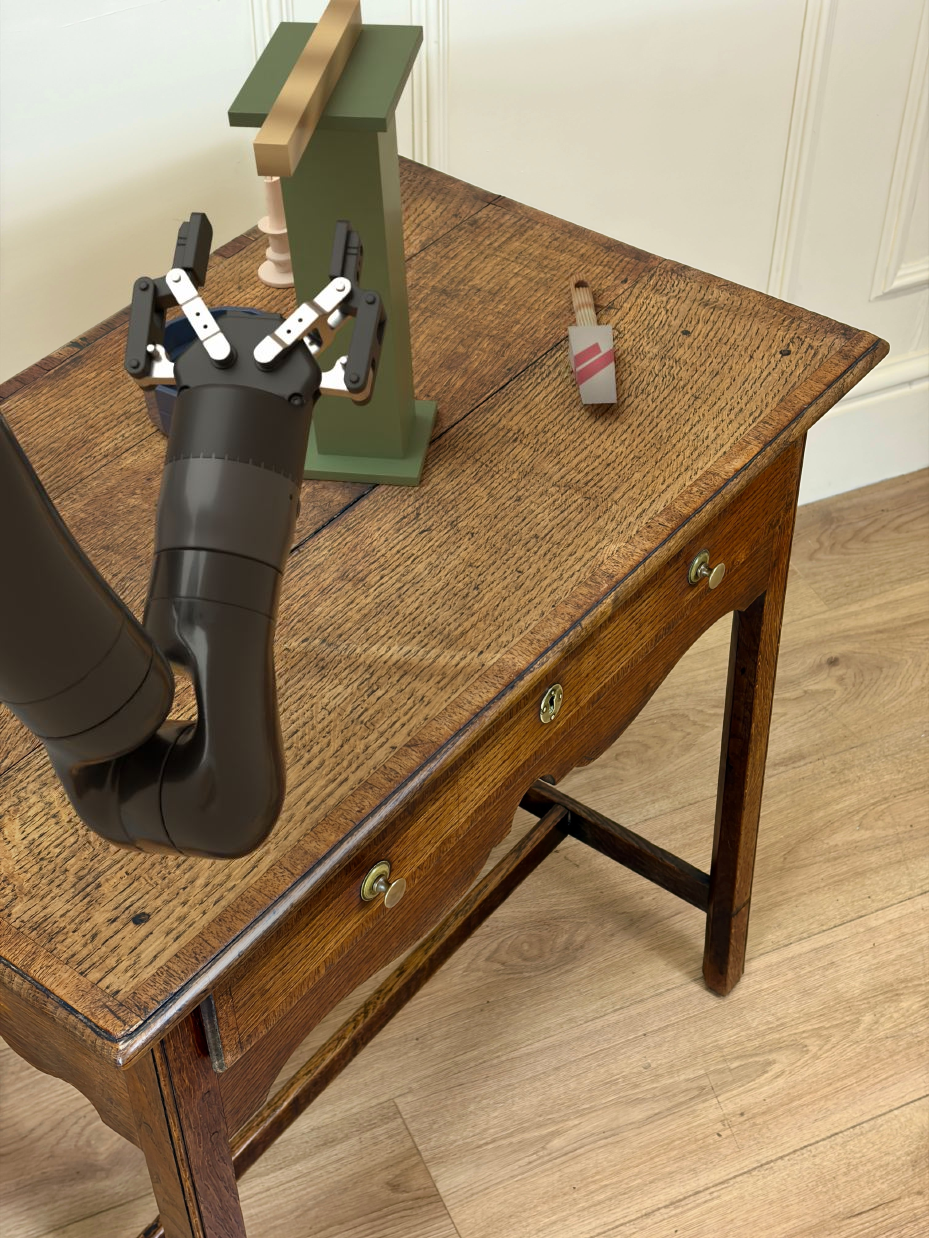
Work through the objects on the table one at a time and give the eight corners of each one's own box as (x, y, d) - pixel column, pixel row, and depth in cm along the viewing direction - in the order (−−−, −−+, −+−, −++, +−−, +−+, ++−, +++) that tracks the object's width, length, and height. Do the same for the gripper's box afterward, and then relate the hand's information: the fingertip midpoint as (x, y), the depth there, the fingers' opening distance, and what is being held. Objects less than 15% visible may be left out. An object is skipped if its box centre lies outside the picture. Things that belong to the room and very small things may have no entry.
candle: (248, 273, 126) (231, 171, 118) (292, 254, 128) (278, 153, 121) (278, 294, 123) (263, 192, 115) (323, 274, 125) (311, 173, 118)
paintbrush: (576, 388, 106) (560, 269, 121) (575, 416, 108) (559, 295, 122) (623, 387, 106) (602, 267, 120) (622, 415, 108) (600, 294, 122)
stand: (289, 494, 103) (226, 111, 80) (327, 389, 112) (280, 21, 90) (414, 503, 101) (385, 117, 79) (441, 396, 111) (422, 25, 89)
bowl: (129, 447, 107) (114, 393, 103) (176, 355, 116) (164, 302, 112) (285, 458, 106) (276, 403, 102) (320, 364, 115) (313, 310, 111)
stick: (291, 177, 74) (287, 144, 73) (257, 176, 74) (252, 143, 73) (362, 29, 89) (360, -1, 87) (334, 28, 89) (331, -2, 87)
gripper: (346, 473, 67) (385, 192, 70) (81, 454, 68) (133, 180, 72) (370, 519, 74) (404, 262, 78) (130, 501, 76) (175, 250, 79)
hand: (273, 223), depth 75 cm, fingers open, 8 cm apart
